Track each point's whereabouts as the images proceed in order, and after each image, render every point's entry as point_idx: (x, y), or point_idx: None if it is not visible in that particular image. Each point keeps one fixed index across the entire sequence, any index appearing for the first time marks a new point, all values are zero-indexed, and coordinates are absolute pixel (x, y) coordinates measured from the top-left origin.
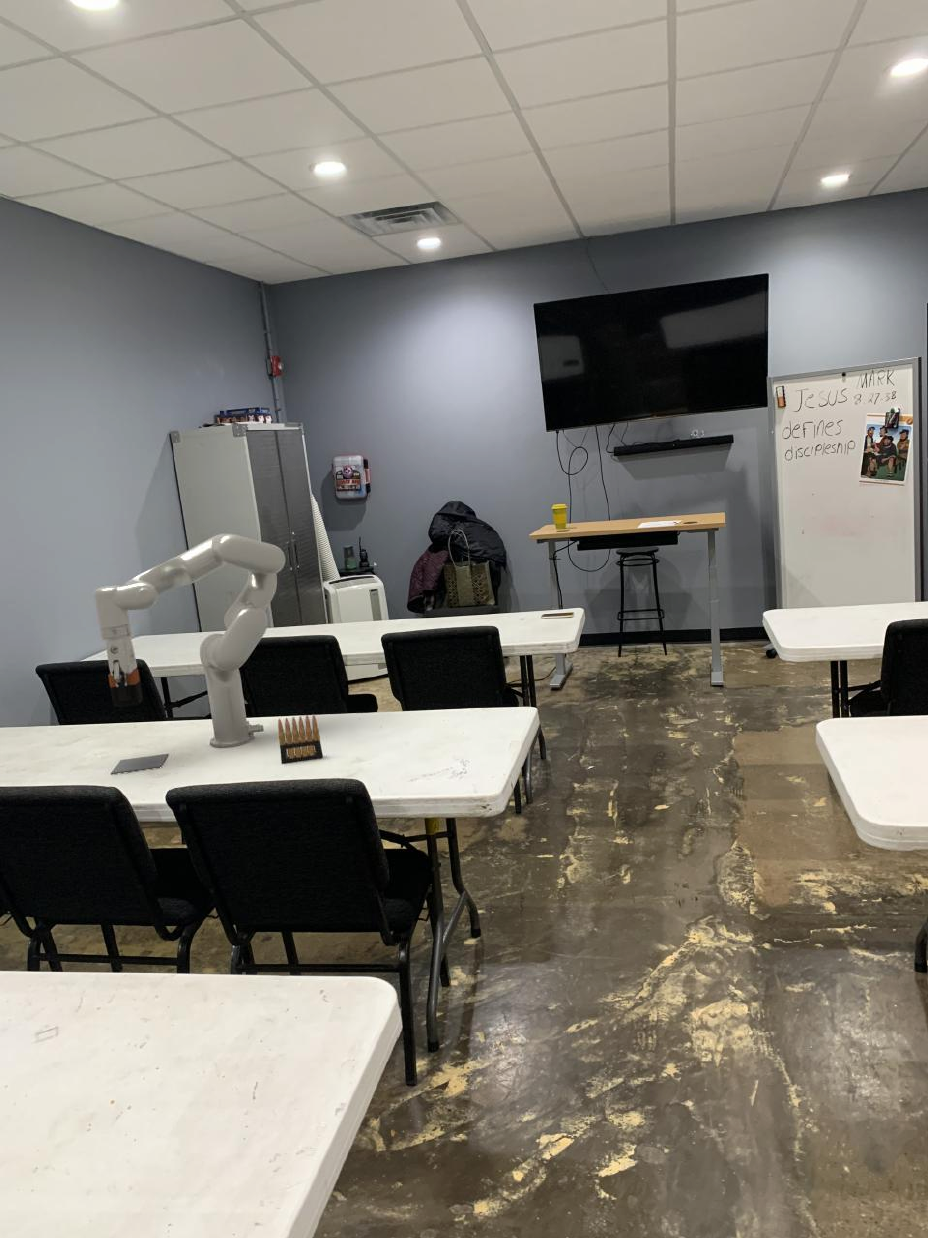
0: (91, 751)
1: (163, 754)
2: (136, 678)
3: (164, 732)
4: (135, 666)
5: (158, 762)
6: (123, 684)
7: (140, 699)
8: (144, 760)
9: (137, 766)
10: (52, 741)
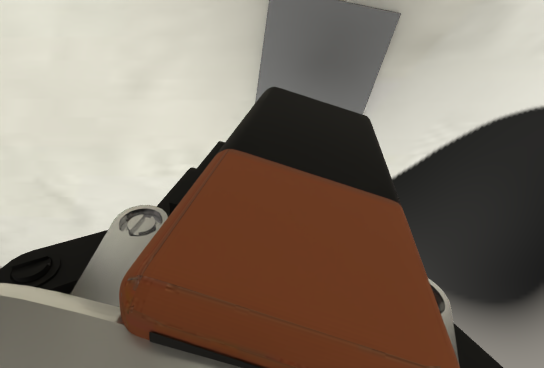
0: (140, 179)
1: (271, 5)
2: (352, 227)
3: (24, 7)
4: (32, 364)
5: (351, 22)
6: (456, 330)
7: (333, 109)
8: (297, 68)
9: (343, 88)
10: (59, 229)
